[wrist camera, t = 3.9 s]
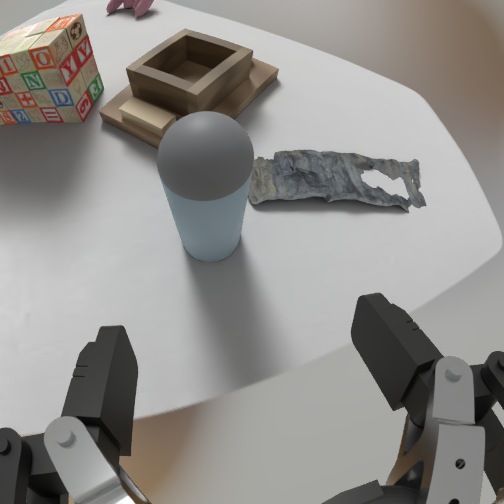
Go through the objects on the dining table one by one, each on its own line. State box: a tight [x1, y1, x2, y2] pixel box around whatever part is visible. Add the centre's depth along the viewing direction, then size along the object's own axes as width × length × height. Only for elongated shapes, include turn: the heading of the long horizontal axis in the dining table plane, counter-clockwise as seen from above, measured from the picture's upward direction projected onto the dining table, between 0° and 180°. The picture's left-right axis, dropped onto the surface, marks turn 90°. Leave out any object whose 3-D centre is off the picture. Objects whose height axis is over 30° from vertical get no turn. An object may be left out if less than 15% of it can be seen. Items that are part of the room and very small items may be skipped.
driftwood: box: [248, 150, 426, 212], centre depth 28 cm, size 21×7×2 cm, turn 92°
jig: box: [99, 29, 279, 149], centre depth 27 cm, size 17×13×6 cm
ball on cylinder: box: [157, 111, 254, 262], centre depth 19 cm, size 5×5×14 cm
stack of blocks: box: [0, 14, 104, 125], centre depth 23 cm, size 21×6×12 cm, turn 81°
